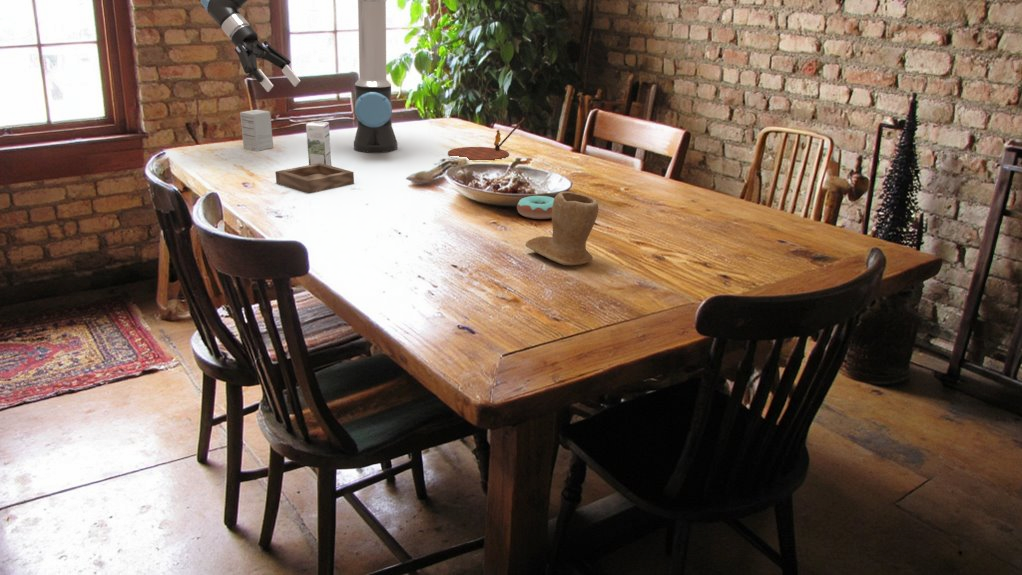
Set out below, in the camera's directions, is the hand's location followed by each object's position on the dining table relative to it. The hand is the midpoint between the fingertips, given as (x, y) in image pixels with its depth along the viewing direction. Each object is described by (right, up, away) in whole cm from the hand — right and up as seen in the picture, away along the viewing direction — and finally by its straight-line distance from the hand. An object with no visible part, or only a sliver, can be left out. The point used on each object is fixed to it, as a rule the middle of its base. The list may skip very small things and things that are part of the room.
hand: (284, 86), depth 260 cm
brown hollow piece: (+82, -56, -70) cm, 121 cm away
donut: (+77, -43, -37) cm, 96 cm away
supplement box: (-18, -14, +32) cm, 39 cm away
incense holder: (+62, -16, +32) cm, 72 cm away
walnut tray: (+12, -31, -12) cm, 36 cm away
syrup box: (+10, -25, +5) cm, 27 cm away
